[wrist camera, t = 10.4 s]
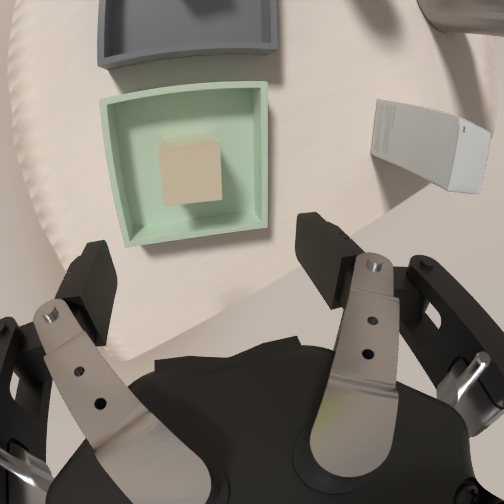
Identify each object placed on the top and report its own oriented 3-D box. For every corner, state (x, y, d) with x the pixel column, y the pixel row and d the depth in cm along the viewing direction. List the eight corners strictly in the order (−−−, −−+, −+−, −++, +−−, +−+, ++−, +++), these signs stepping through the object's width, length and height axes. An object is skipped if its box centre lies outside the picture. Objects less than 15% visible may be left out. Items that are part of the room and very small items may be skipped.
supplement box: (368, 155, 30) (446, 192, 20) (375, 97, 26) (460, 114, 16) (408, 161, 32) (480, 196, 21) (416, 110, 28) (493, 132, 18)
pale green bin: (256, 83, 23) (267, 81, 20) (258, 213, 31) (267, 227, 28) (109, 99, 20) (99, 99, 17) (130, 231, 28) (125, 247, 25)
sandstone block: (210, 133, 24) (220, 142, 19) (212, 177, 27) (222, 199, 21) (163, 137, 23) (158, 149, 18) (167, 182, 26) (164, 206, 20)
